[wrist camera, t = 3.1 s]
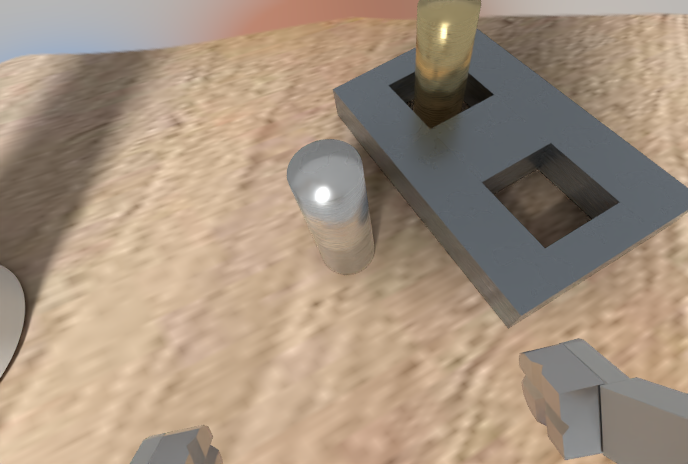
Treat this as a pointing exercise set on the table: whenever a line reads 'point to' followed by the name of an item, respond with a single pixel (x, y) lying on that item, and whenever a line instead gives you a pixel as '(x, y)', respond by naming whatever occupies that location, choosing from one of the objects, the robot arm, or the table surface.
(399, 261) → the table surface
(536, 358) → the robot arm
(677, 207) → the bolt plate
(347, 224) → the steel peg
